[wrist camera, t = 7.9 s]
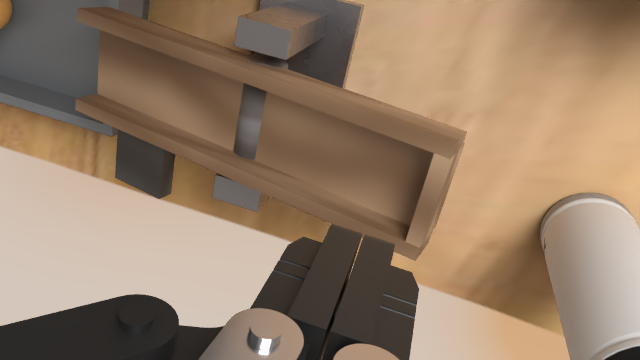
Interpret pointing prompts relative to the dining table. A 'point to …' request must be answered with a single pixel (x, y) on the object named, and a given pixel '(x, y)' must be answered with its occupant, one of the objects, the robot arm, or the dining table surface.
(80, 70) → the bin
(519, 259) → the dining table surface
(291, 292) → the robot arm
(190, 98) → the lever
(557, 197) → the dining table surface
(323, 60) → the stand
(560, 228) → the travel mug
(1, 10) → the ball
